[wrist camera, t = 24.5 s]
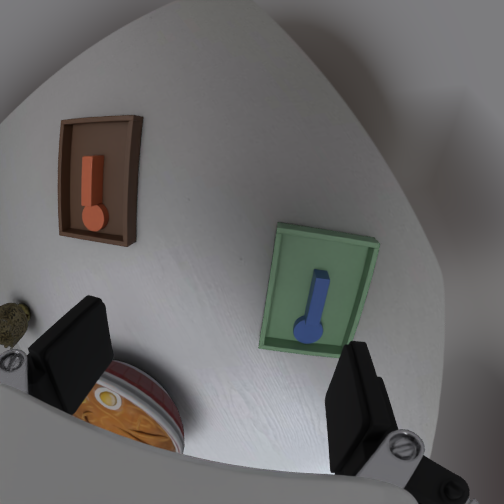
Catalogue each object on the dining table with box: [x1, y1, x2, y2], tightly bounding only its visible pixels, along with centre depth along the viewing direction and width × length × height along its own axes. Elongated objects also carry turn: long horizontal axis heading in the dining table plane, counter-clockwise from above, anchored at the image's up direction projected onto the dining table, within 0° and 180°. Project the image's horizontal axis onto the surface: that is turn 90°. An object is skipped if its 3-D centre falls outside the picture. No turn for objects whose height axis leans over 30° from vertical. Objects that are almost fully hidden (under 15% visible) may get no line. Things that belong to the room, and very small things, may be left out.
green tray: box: [258, 222, 380, 358], centre depth 34 cm, size 15×11×2 cm
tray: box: [58, 115, 143, 247], centre depth 32 cm, size 15×11×2 cm
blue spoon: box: [293, 269, 330, 344], centre depth 34 cm, size 10×4×3 cm, turn 173°
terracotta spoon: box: [81, 155, 109, 231], centre depth 32 cm, size 10×4×3 cm, turn 173°
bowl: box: [72, 360, 185, 454], centre depth 40 cm, size 23×23×10 cm
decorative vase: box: [0, 303, 31, 349], centre depth 39 cm, size 8×7×8 cm
